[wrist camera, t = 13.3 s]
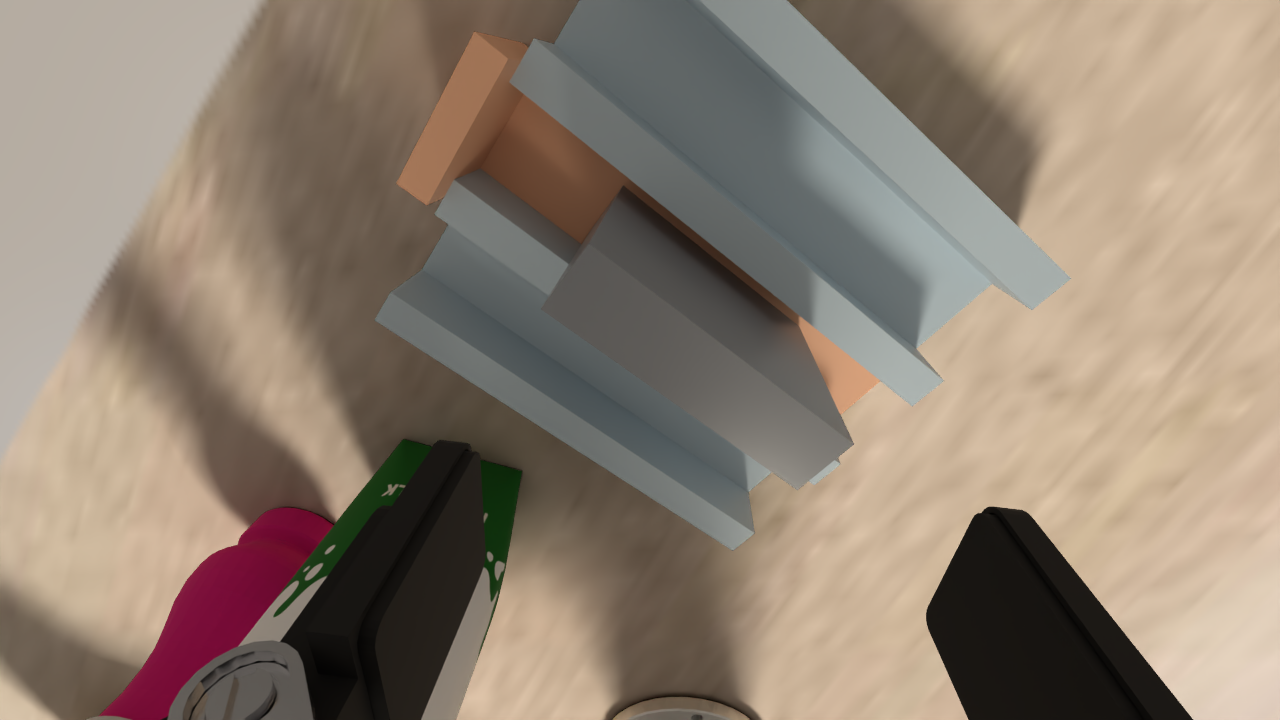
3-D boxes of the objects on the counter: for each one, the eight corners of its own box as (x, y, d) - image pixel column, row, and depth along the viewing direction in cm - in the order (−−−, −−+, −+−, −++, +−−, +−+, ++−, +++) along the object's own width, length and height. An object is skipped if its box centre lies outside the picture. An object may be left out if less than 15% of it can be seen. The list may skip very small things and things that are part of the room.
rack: (1012, 248, 23) (1099, 292, 18) (727, 496, 31) (735, 574, 26) (619, -130, 19) (595, -205, 14) (394, 273, 26) (327, 317, 21)
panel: (590, 230, 23) (540, 309, 15) (623, 185, 22) (588, 243, 14) (762, 362, 25) (797, 490, 18) (798, 326, 25) (854, 444, 17)
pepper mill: (238, 491, 33) (-265, 953, 16) (353, 510, 33) (-20, 992, 16) (259, 571, 37) (-136, 1027, 19) (364, 589, 37) (66, 1060, 19)
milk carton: (541, 462, 31) (344, 984, 13) (514, 568, 35) (338, 1074, 17) (388, 420, 30) (-36, 906, 12) (379, 533, 34) (53, 1019, 17)
